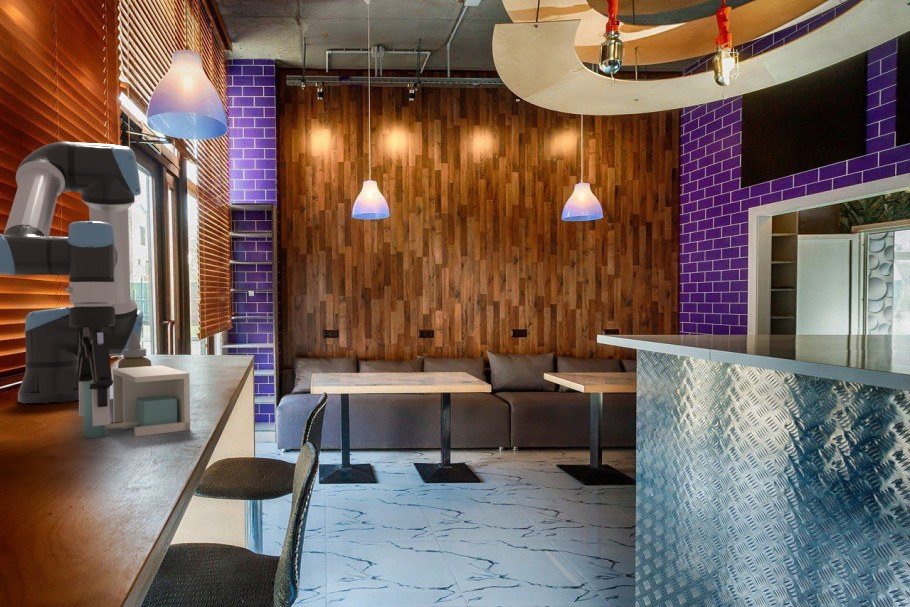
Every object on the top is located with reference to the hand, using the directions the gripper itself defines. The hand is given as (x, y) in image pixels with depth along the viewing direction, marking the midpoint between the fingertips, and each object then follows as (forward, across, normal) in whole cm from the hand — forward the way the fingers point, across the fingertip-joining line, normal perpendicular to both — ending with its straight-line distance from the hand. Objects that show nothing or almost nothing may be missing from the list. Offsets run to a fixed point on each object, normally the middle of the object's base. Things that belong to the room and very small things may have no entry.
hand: (94, 419), depth 129 cm
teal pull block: (+3, 0, +6) cm, 7 cm away
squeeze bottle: (+3, -21, +12) cm, 24 cm away
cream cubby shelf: (+3, -5, +11) cm, 12 cm away
